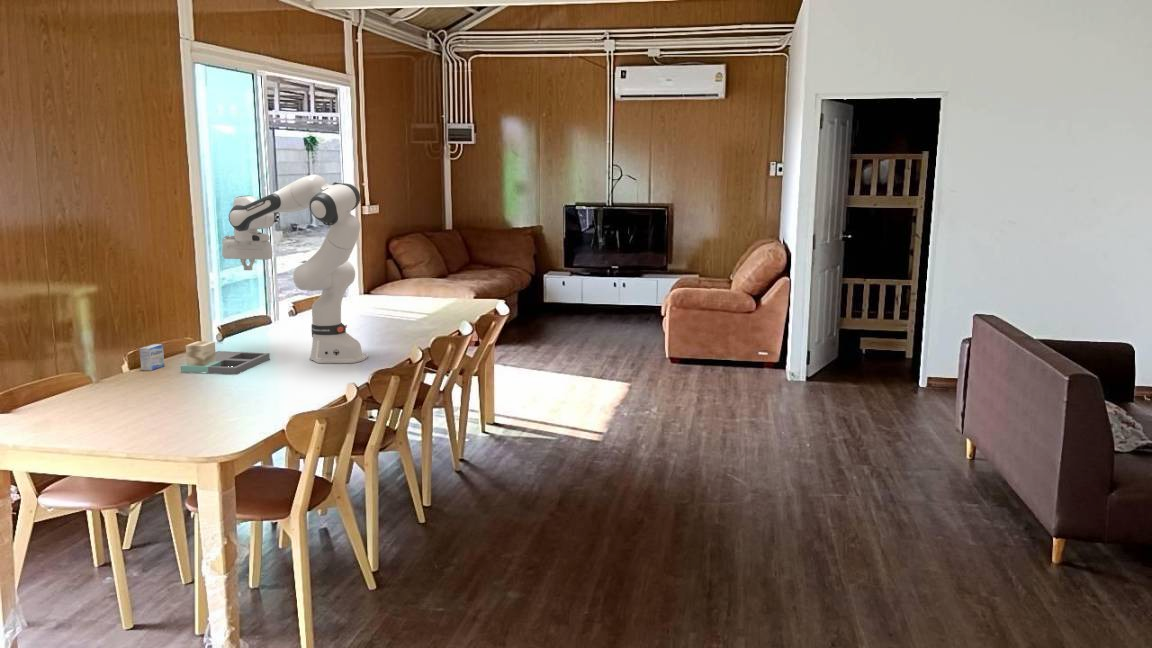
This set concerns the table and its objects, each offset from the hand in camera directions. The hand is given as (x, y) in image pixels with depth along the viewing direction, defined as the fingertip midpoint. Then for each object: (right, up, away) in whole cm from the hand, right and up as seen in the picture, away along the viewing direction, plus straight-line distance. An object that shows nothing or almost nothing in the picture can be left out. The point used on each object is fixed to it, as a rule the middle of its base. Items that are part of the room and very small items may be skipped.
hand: (248, 270), depth 360 cm
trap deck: (-2, -38, -17) cm, 42 cm away
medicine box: (-28, -39, -22) cm, 53 cm away
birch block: (-8, -37, -24) cm, 45 cm away
